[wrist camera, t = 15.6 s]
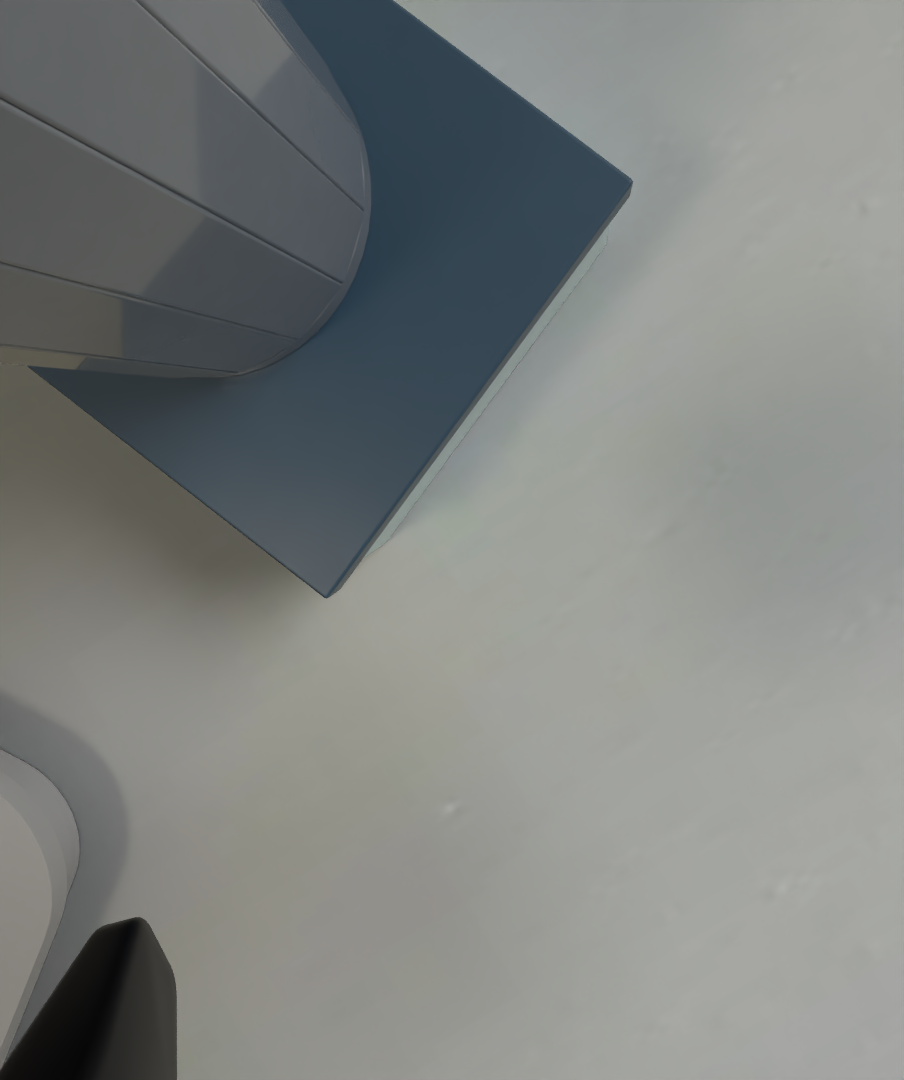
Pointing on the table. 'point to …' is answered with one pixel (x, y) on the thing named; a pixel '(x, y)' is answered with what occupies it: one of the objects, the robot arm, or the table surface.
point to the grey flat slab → (30, 882)
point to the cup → (171, 186)
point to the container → (385, 306)
